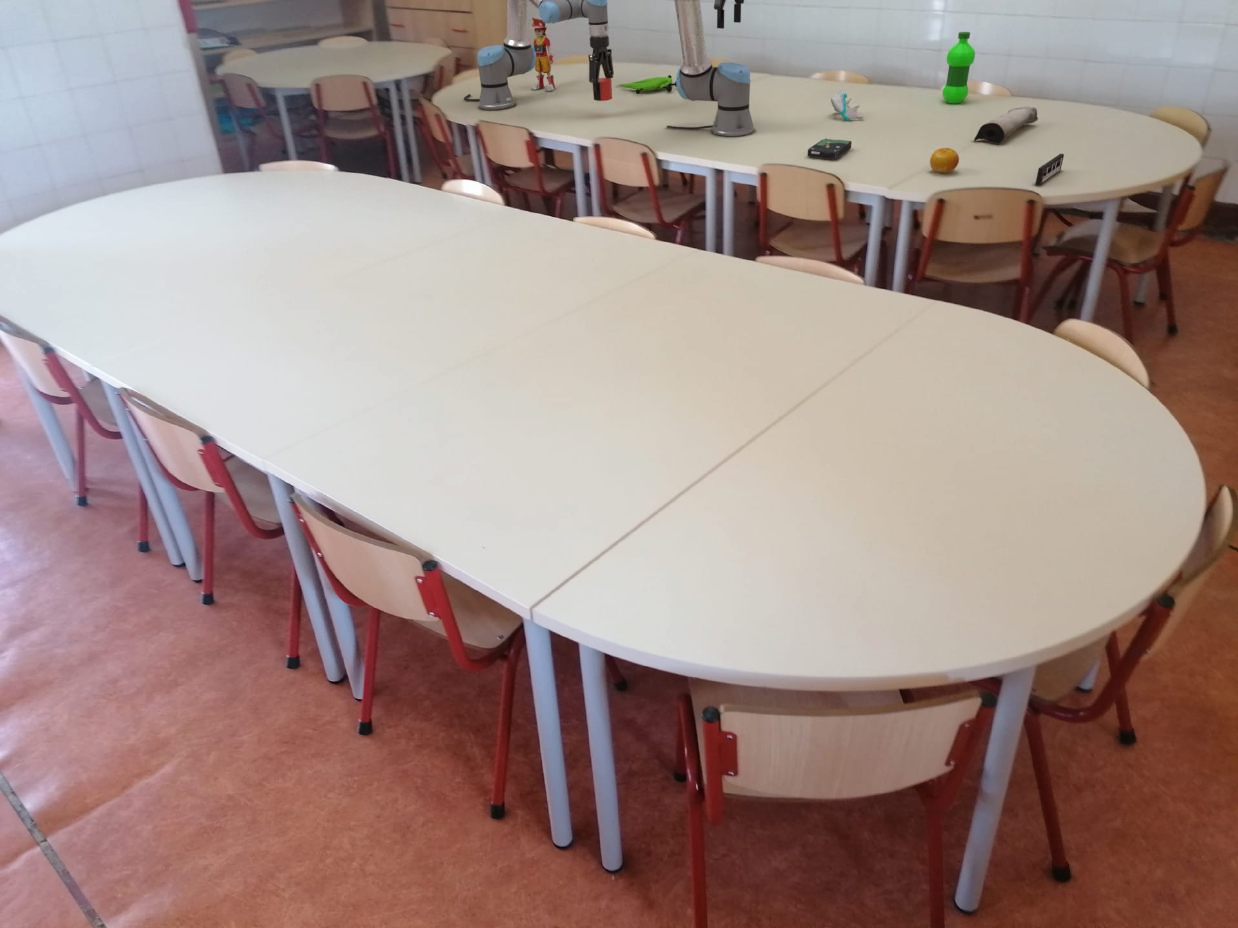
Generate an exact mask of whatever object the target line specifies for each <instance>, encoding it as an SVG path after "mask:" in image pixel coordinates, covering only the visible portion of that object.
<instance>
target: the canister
mask: <svg viewBox="0 0 1238 928" xmlns="http://www.w3.org/2000/svg"><path fill="white" fill-rule="evenodd" d="M598 83H600V96H601V100H595V101H597V102H606V101H611V100H612V99H613V88H612V86H613V85H612V78H611V79H610V78H606V77H599V80H598ZM592 92H593V94H592V95H593V98H594V91H593V90H592Z"/></svg>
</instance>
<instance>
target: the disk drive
mask: <svg viewBox="0 0 1238 928" xmlns="http://www.w3.org/2000/svg"><path fill="white" fill-rule="evenodd" d="M851 148H852V140H844V139H831V138H829V139H828V138H823V139H820V141H818V142H816V143H815V144H813V145H812V146H810V147H809V148H807V157H809V158H817V159H822V160H823V159H825V160H838V158H840V157H842V156H843V155H844V154H846V152H848V151H850V150H851Z"/></svg>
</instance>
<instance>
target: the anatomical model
mask: <svg viewBox="0 0 1238 928" xmlns="http://www.w3.org/2000/svg"><path fill="white" fill-rule="evenodd" d="M847 97H848V95H847V92H845V91H844V90H842V89H841V90H839V93H837V95H833V96H831V97H830V103H831V106H832V107H833V110H834V111H835V112H836V113H839V114H840V115H841V117H842V119H843V120H844V121H851V120H856V119H857V120H858V119H860V120H861V119H863V118H864V115H863V114H859V113H858V110H859V108H860V106H861V104H856V105H854V106H850V105H849V104H850V102H851V101H852V98H848V99H847Z"/></svg>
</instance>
